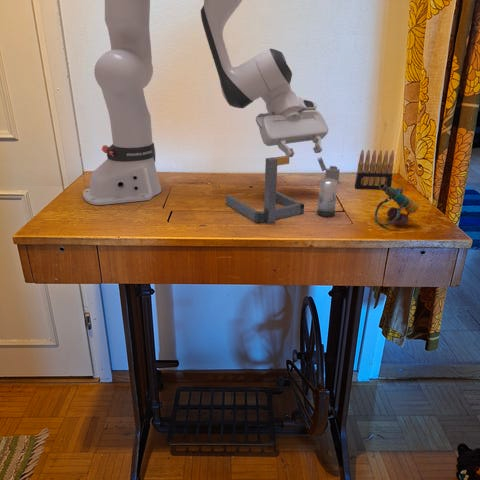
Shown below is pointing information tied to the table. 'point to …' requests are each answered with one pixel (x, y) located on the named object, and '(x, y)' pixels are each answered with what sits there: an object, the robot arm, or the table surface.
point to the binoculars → (402, 202)
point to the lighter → (329, 170)
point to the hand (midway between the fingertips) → (305, 153)
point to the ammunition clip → (374, 171)
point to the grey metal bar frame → (269, 198)
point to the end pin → (327, 197)
